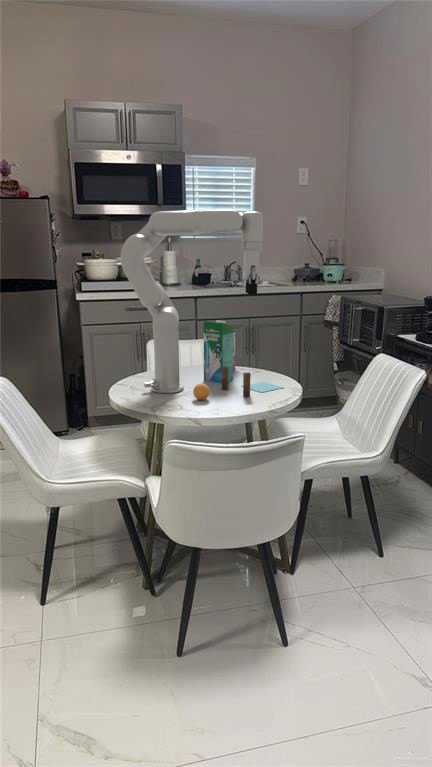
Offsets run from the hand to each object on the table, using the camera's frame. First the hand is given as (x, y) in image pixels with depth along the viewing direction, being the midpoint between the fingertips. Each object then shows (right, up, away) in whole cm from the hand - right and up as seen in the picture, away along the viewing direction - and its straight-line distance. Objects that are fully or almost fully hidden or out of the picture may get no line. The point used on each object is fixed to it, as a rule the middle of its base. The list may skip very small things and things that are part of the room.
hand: (251, 293), depth 199 cm
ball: (-19, -37, -7) cm, 42 cm away
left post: (-10, -36, +8) cm, 38 cm away
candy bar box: (-8, -28, +41) cm, 50 cm away
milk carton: (-12, -32, +24) cm, 42 cm away
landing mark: (+5, -35, +11) cm, 37 cm away
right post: (-2, -39, -2) cm, 39 cm away
